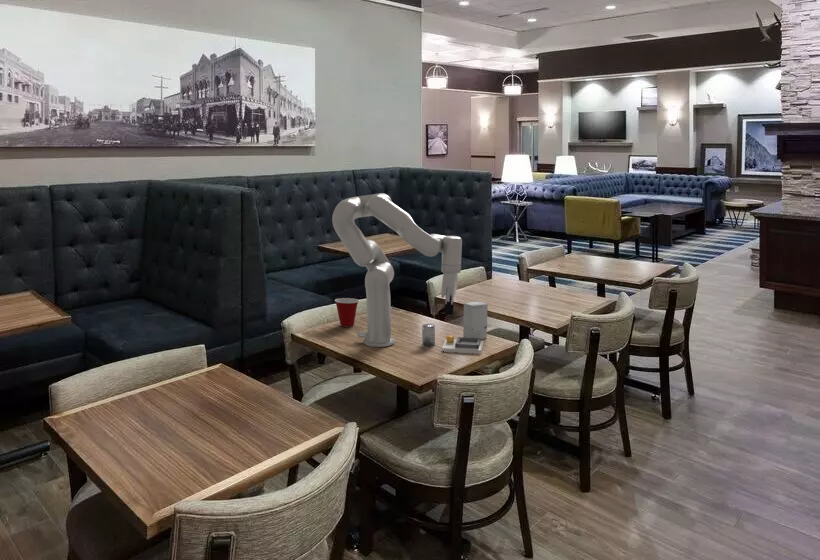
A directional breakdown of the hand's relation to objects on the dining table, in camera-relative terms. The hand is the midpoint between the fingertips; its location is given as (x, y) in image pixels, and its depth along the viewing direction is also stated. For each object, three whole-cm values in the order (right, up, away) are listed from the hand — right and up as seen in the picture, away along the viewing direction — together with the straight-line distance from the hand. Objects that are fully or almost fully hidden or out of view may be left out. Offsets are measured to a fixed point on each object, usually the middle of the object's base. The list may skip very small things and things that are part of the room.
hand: (448, 313), depth 247 cm
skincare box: (+12, -11, +13) cm, 20 cm away
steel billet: (-8, -13, +4) cm, 15 cm away
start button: (+1, -11, +2) cm, 11 cm away
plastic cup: (-43, -7, +32) cm, 54 cm away
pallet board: (+5, -13, 0) cm, 15 cm away
